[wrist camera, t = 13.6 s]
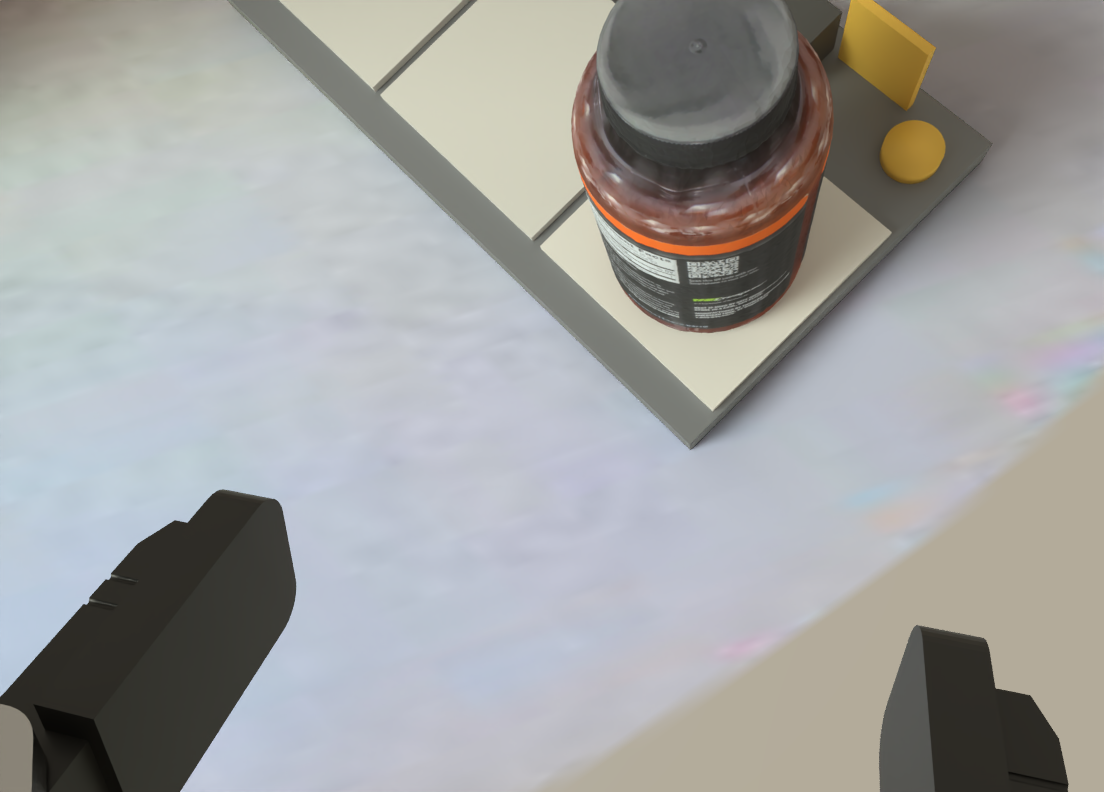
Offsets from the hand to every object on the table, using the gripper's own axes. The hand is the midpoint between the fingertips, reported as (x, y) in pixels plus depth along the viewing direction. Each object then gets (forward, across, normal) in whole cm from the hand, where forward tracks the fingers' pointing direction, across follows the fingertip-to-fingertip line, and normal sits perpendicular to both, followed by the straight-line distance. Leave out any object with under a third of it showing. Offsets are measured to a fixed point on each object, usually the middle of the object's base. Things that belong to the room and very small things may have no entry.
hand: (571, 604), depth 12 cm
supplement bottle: (+19, 0, +4) cm, 20 cm away
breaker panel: (+24, +6, +1) cm, 25 cm away
